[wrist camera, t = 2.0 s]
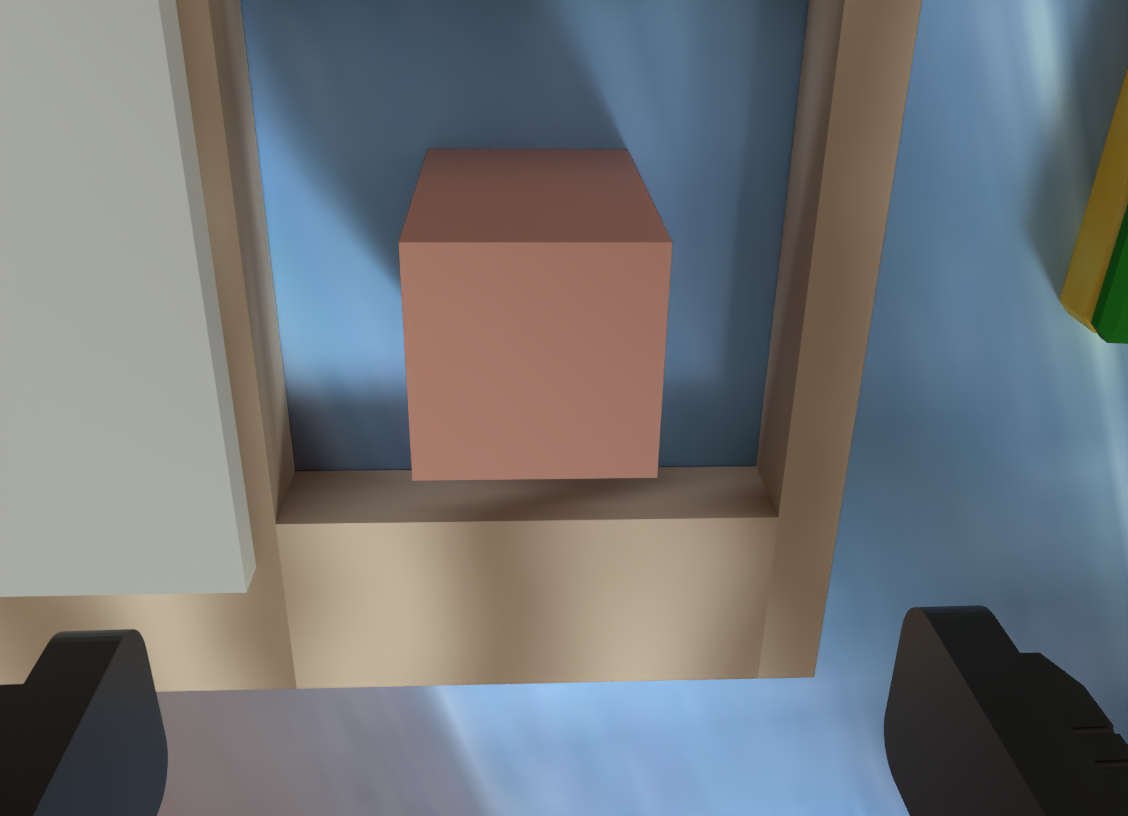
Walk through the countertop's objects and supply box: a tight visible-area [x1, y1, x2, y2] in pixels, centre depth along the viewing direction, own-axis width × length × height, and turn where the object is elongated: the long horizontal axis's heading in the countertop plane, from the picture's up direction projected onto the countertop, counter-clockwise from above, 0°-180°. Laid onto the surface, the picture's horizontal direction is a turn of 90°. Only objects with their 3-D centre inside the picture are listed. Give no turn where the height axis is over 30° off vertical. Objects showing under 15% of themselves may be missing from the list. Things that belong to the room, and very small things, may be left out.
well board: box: [0, 0, 922, 692], centre depth 23 cm, size 26×22×2 cm
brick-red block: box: [399, 149, 672, 481], centre depth 21 cm, size 4×4×7 cm
